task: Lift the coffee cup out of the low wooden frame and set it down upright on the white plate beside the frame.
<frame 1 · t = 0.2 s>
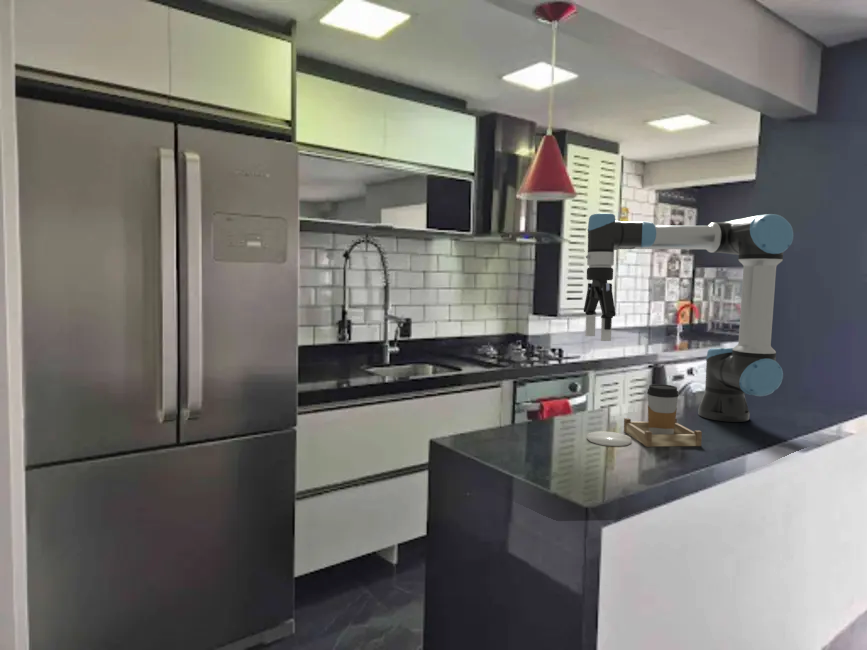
hand: (597, 338, 170), 28 cm above the countertop, fingers open, 13 cm apart
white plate: (608, 439, 160), on the countertop
coffee cup: (660, 439, 162), resting in wooden frame
wooden frame: (660, 438, 162), on the countertop
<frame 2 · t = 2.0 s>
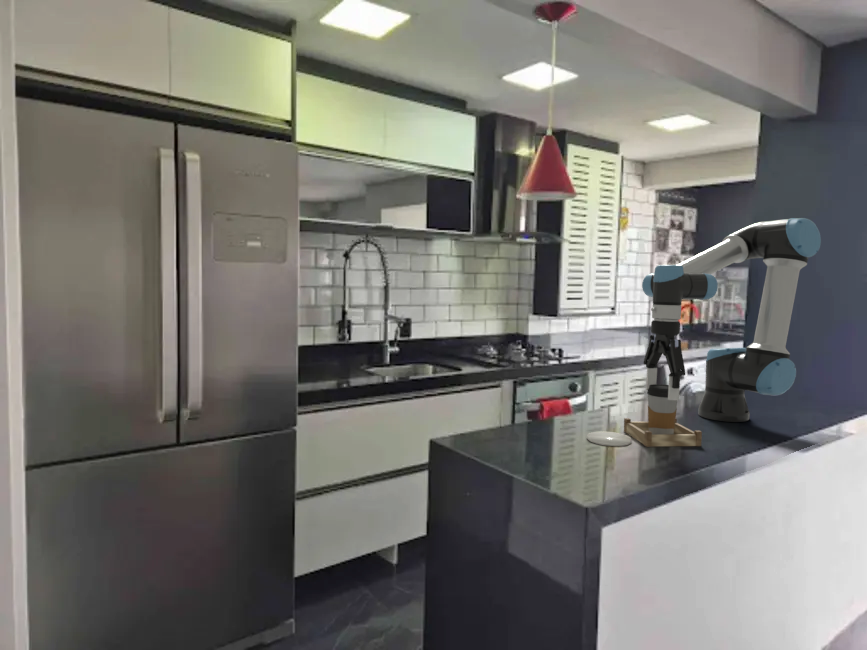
hand: (661, 395, 161), 13 cm above the countertop, fingers open, 13 cm apart
nothing on the countertop moved.
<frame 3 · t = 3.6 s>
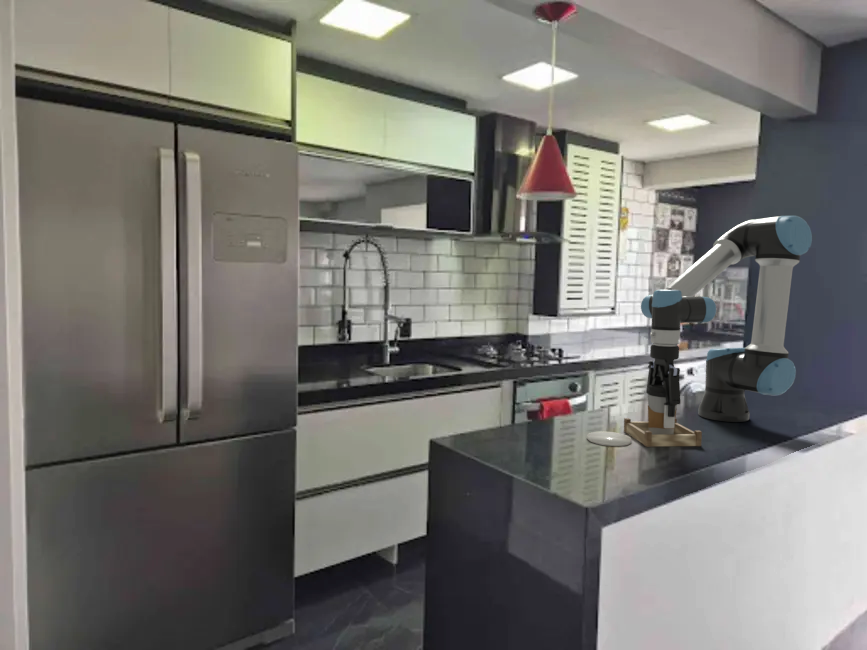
hand: (661, 423, 162), 4 cm above the countertop, fingers closed on coffee cup, 8 cm apart
coffee cup: (660, 439, 162), resting in wooden frame, touching gripper
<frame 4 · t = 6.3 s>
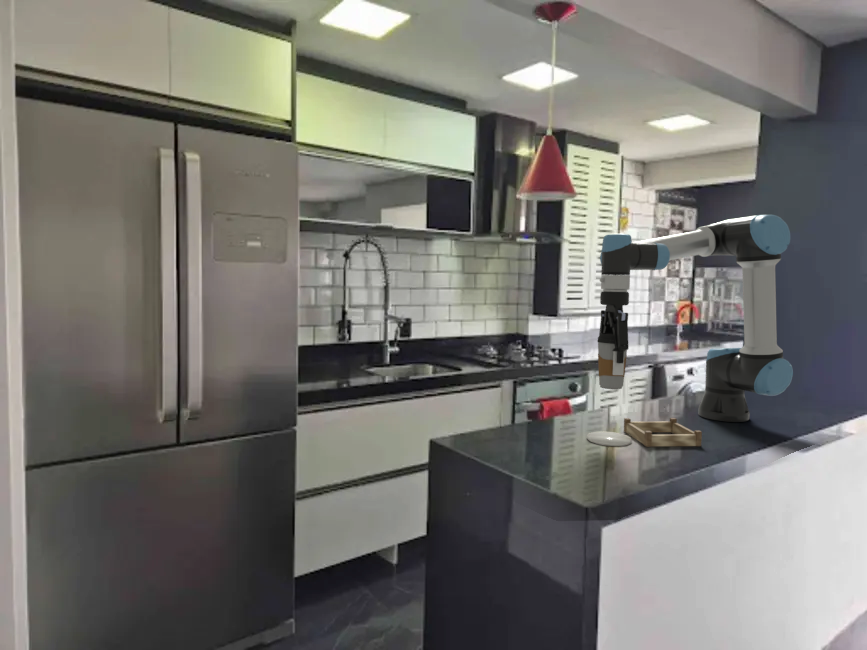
hand: (611, 372, 159), 19 cm above the countertop, fingers closed on coffee cup, 8 cm apart
coffee cup: (611, 388, 159), point 15 cm above the countertop, touching gripper
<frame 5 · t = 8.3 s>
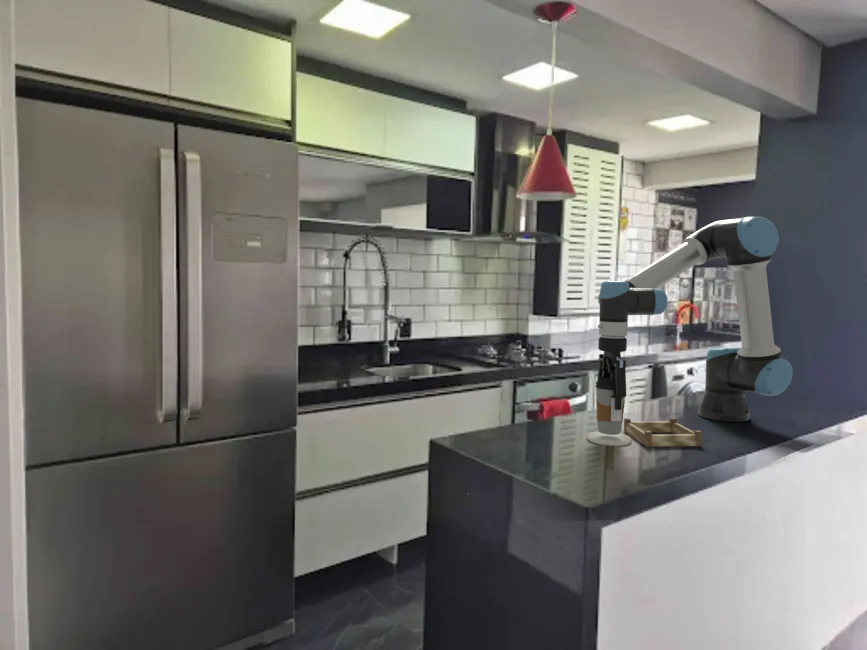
hand: (609, 416, 160), 7 cm above the countertop, fingers closed on coffee cup, 8 cm apart
coffee cup: (609, 432, 160), point 2 cm above the countertop, touching gripper
when the fingers open (7 cm above the countertop, at t = 9.0 s): coffee cup drops 1 cm, resting on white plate.
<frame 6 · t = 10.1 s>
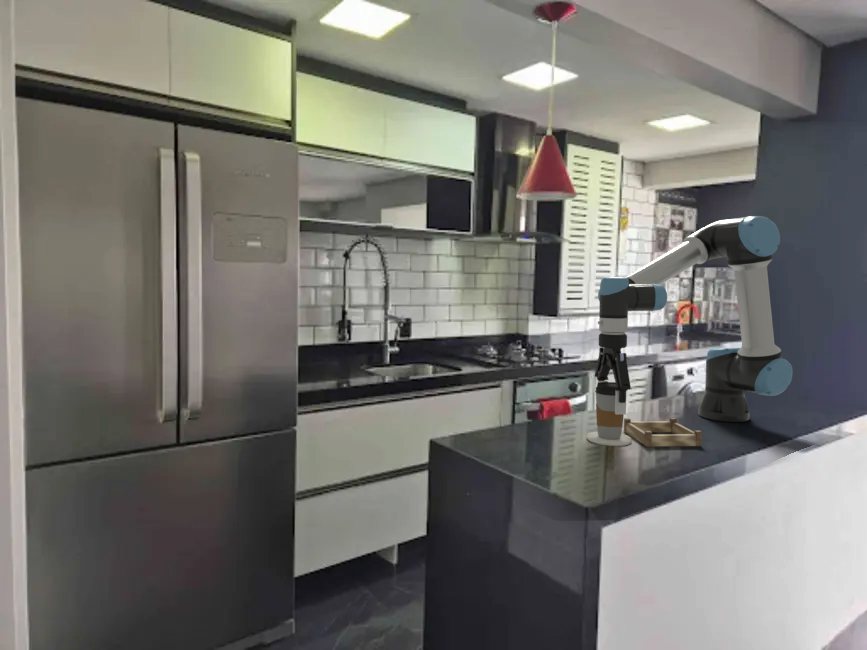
hand: (610, 408, 159), 9 cm above the countertop, fingers open, 13 cm apart
coffee cup: (609, 437, 160), point 1 cm above the countertop, touching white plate
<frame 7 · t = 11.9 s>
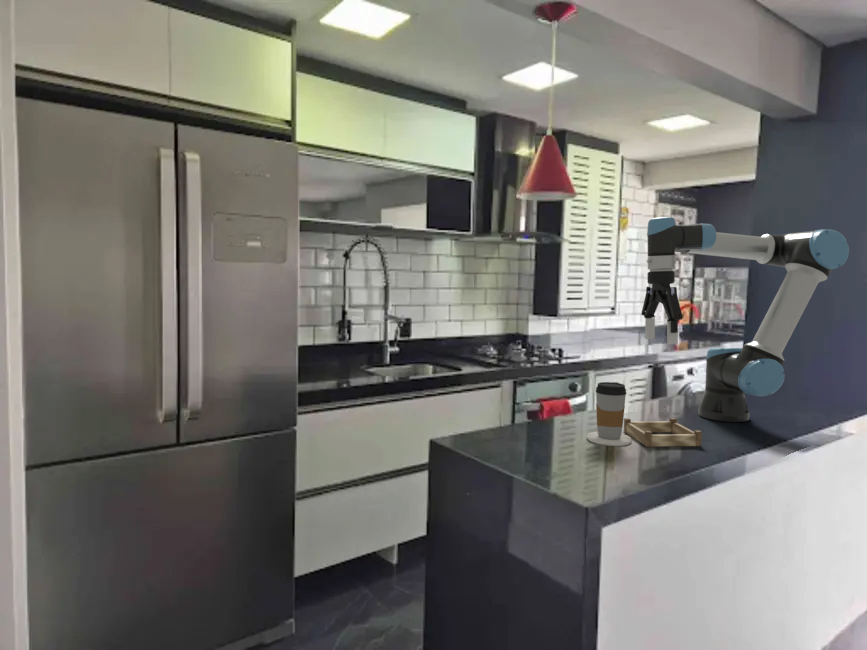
hand: (660, 341, 171), 27 cm above the countertop, fingers open, 13 cm apart
nothing on the countertop moved.
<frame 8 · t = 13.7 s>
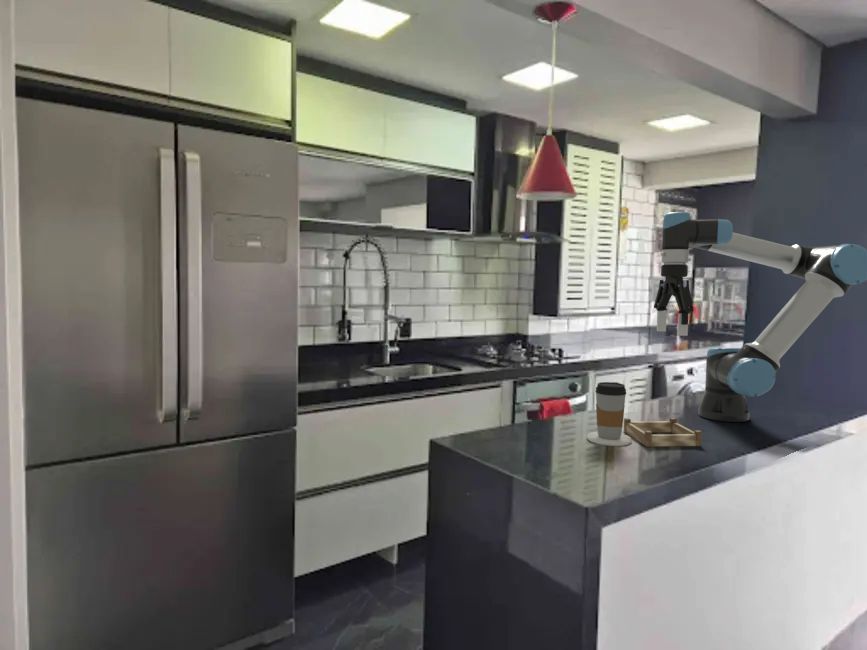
hand: (671, 333, 175), 29 cm above the countertop, fingers open, 13 cm apart
nothing on the countertop moved.
at the end: coffee cup 0.0 cm from the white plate (horizontally); coffee cup tilted 0°; the gripper is holding nothing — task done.
